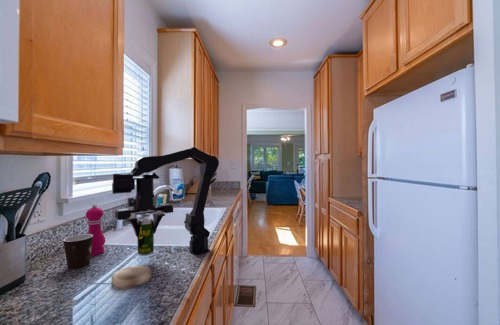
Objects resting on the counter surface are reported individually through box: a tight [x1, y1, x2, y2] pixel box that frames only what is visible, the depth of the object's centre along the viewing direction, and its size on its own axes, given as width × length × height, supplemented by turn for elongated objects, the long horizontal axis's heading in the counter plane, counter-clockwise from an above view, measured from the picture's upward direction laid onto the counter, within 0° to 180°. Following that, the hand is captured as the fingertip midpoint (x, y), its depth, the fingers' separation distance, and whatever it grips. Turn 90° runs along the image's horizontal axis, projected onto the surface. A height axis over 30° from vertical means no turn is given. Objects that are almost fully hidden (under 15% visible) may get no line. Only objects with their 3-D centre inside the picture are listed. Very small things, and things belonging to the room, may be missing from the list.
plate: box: [111, 265, 152, 290], centre depth 74 cm, size 11×11×2 cm
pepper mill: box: [85, 203, 106, 257], centre depth 97 cm, size 7×7×20 cm
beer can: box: [137, 217, 155, 257], centre depth 86 cm, size 5×5×12 cm
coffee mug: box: [63, 233, 93, 271], centre depth 83 cm, size 12×9×10 cm
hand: (145, 234), depth 86 cm, fingers closed on beer can, 5 cm apart
